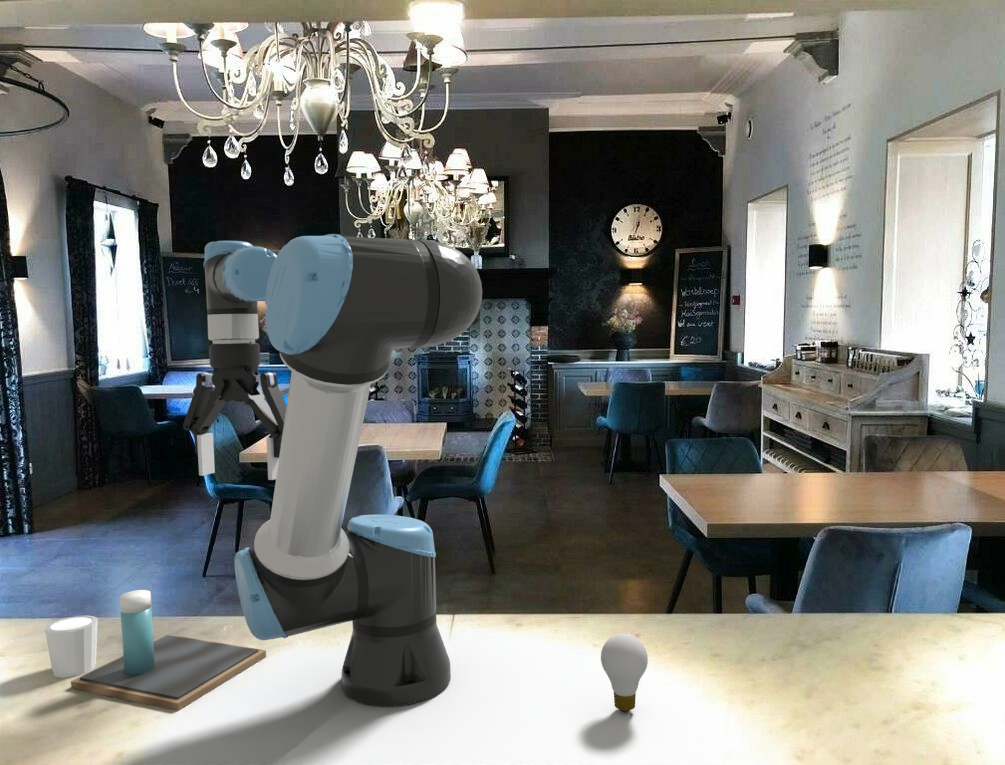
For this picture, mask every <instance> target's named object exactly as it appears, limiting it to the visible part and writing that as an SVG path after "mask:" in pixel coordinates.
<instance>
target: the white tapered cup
mask: <svg viewBox="0 0 1005 765" xmlns="http://www.w3.org/2000/svg"><path fill="white" fill-rule="evenodd" d="M44 632H45V637H46V642H47V647H48V653H49V654H48V655H49V659H50V664H51V671H52V674H53V676H55V677H57V678H70V677H71V678H72V677H76V676H82V675H85V674H87V673H89V672H91V671H93V670H94V668H96V665H97V646H98V642H97V641H98V617H96V616H93V615H75V616H69V617H64V618H61V619H59V620H55V621H53V622H50V624H48V625H46V627H45V629H44Z"/></svg>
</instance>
